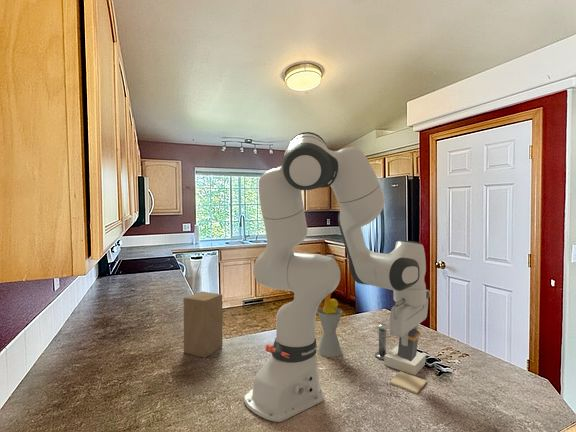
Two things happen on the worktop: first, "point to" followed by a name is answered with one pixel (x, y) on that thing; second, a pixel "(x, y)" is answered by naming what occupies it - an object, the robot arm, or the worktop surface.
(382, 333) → the post
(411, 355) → the plug
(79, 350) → the worktop surface
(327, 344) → the lava lamp
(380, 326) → the grey metal bar
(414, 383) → the coaster
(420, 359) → the socket
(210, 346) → the wooden block
